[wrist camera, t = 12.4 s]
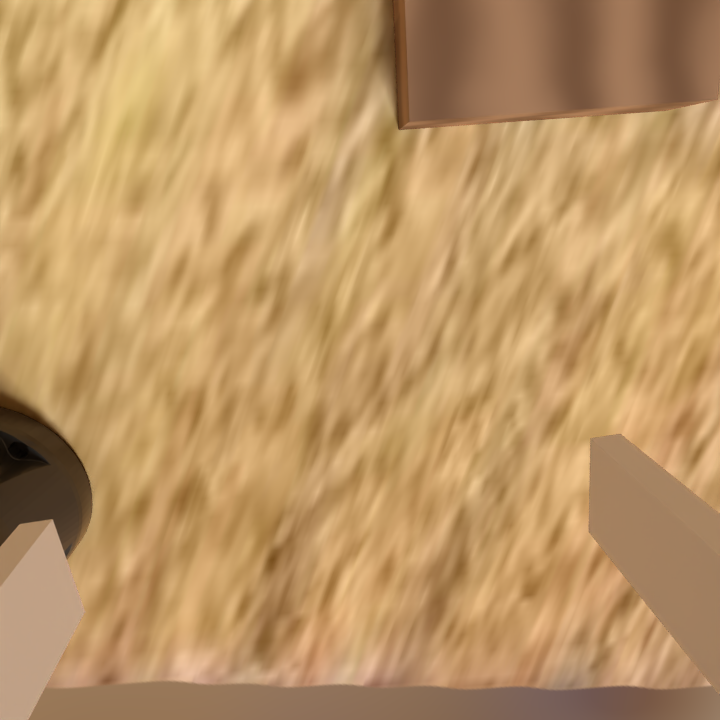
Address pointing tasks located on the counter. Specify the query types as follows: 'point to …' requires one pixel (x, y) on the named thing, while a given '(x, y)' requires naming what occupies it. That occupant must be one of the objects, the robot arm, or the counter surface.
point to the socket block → (551, 58)
